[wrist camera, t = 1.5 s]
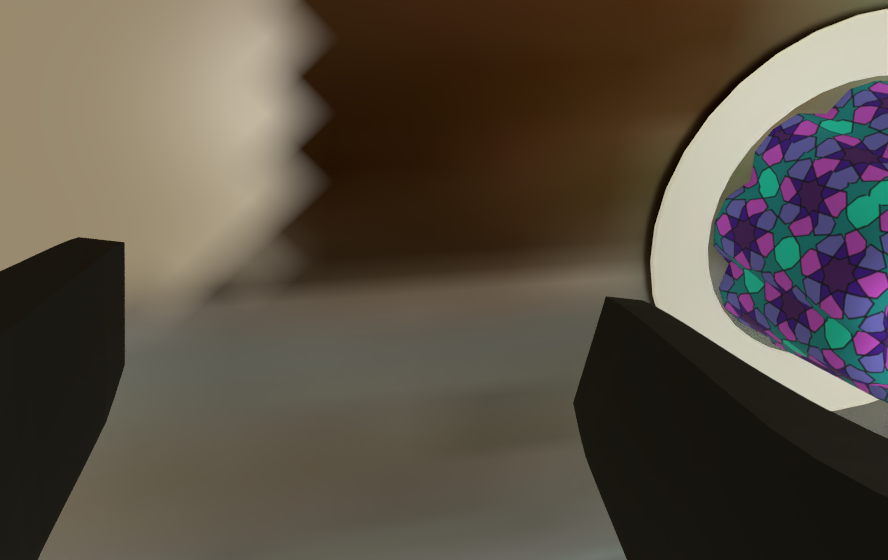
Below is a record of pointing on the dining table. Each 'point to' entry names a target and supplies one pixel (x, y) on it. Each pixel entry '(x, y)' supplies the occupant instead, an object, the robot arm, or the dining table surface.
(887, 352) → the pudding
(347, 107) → the dining table surface
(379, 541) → the dining table surface
